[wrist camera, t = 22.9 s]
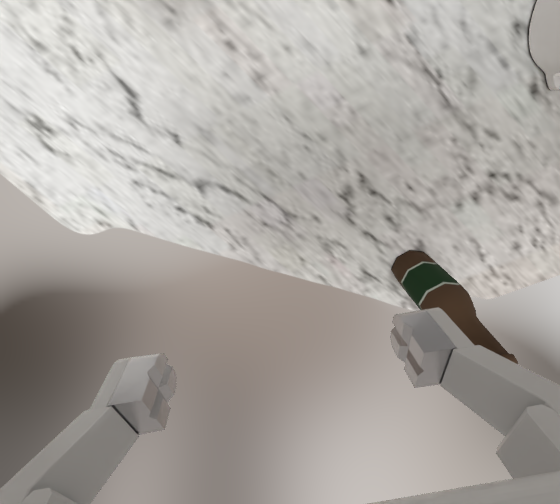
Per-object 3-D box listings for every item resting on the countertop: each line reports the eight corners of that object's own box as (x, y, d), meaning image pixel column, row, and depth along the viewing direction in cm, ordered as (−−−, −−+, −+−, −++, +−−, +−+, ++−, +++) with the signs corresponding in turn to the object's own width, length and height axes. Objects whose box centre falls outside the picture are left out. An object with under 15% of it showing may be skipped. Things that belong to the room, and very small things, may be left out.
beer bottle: (390, 253, 51) (482, 358, 31) (428, 244, 51) (547, 344, 30) (389, 283, 55) (470, 392, 35) (425, 274, 55) (528, 380, 34)
